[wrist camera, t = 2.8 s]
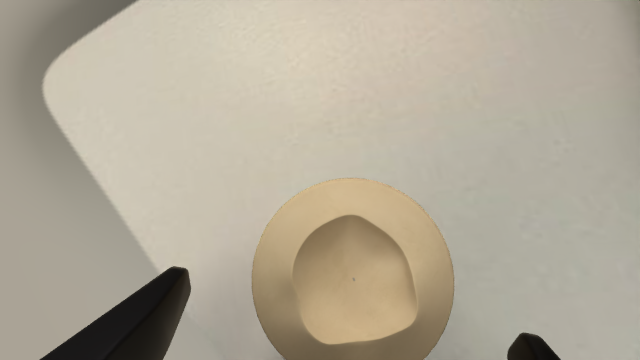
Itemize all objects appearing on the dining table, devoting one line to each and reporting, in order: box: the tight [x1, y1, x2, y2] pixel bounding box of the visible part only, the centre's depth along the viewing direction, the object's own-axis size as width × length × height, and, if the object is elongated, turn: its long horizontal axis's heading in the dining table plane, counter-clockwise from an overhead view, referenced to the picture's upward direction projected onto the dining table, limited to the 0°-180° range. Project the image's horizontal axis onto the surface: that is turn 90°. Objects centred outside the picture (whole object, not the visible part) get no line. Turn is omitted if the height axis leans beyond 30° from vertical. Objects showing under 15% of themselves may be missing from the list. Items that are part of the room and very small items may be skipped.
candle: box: [252, 178, 454, 360], centre depth 13 cm, size 6×6×10 cm
